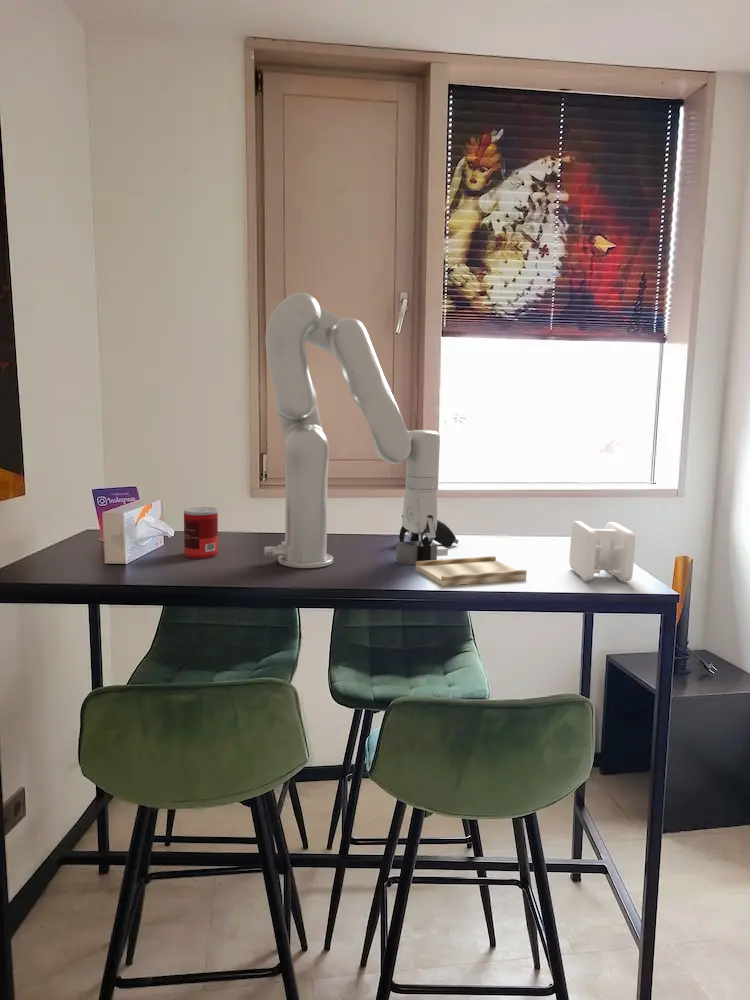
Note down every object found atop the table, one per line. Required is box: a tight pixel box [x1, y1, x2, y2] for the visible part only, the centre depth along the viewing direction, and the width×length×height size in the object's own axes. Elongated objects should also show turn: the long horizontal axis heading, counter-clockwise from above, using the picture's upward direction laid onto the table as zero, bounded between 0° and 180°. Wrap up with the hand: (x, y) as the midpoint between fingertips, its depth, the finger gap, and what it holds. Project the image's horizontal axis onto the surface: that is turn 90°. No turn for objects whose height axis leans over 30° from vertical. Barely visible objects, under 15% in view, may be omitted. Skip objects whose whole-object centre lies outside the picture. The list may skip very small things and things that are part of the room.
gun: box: [398, 514, 460, 548], centre depth 186 cm, size 3×16×10 cm, turn 89°
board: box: [415, 555, 528, 587], centre depth 157 cm, size 20×14×2 cm
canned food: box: [183, 506, 219, 560], centre depth 167 cm, size 8×8×11 cm
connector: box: [395, 540, 449, 566], centre depth 167 cm, size 12×4×4 cm, turn 111°
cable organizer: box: [568, 520, 636, 583], centre depth 158 cm, size 15×11×12 cm
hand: (419, 559), depth 168 cm, fingers closed on connector, 4 cm apart
